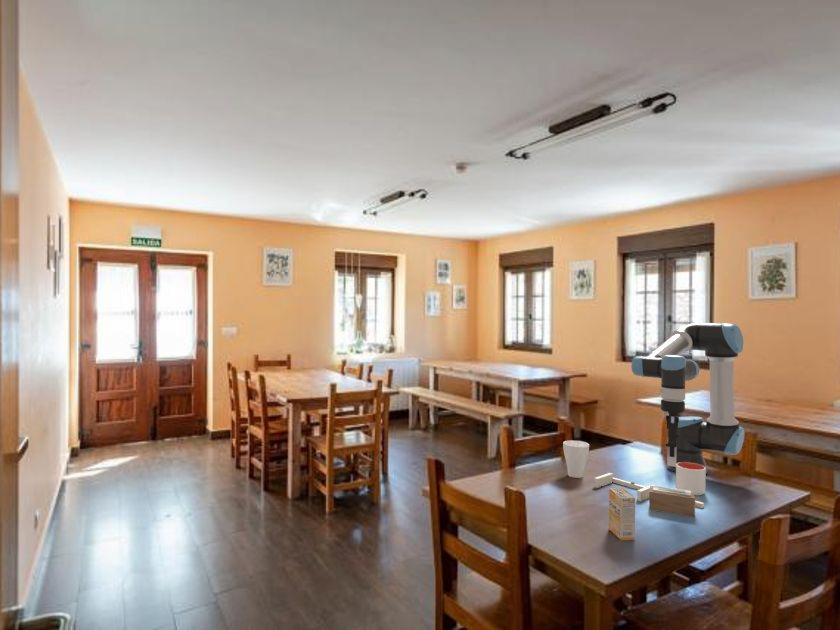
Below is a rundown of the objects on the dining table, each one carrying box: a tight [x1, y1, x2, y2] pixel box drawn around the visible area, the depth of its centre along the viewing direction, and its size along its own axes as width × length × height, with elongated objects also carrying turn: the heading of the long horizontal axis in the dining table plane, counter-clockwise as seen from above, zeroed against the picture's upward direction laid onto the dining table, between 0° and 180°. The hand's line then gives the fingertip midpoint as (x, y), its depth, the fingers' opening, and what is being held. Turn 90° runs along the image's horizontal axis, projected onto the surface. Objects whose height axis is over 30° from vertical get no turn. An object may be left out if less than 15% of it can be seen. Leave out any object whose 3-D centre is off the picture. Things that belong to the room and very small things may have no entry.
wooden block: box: [648, 484, 696, 518], centre depth 179 cm, size 7×14×7 cm, turn 64°
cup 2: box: [675, 462, 707, 496], centre depth 197 cm, size 10×10×10 cm
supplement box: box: [608, 487, 636, 541], centre depth 158 cm, size 8×5×13 cm, turn 5°
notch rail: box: [593, 472, 705, 509], centre depth 191 cm, size 12×36×4 cm, turn 39°
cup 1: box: [562, 440, 590, 479], centre depth 214 cm, size 10×10×14 cm
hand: (671, 460), depth 179 cm, fingers open, 13 cm apart
